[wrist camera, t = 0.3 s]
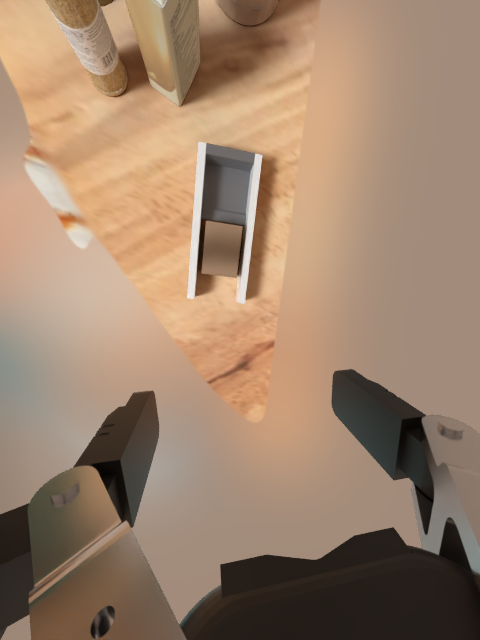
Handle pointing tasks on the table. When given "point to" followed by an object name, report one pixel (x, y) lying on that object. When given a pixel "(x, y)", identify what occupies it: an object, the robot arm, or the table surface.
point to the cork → (104, 2)
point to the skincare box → (168, 43)
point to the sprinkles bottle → (91, 42)
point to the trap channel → (225, 202)
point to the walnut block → (221, 249)
